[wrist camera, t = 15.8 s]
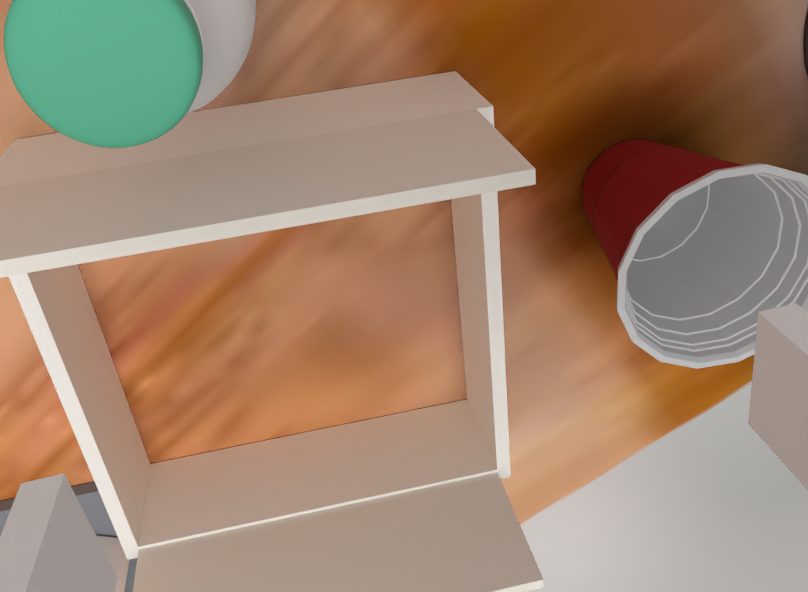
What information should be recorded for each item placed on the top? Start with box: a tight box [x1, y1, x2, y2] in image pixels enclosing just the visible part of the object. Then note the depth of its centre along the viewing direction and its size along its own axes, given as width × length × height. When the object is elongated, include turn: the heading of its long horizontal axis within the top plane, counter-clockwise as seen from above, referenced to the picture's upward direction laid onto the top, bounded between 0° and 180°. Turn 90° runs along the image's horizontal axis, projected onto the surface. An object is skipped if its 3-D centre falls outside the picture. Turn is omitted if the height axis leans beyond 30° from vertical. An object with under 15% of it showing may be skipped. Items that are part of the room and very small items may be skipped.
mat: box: [0, 482, 138, 592], centre depth 51 cm, size 12×12×1 cm
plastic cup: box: [582, 139, 808, 369], centre depth 40 cm, size 11×11×12 cm
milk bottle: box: [4, 0, 256, 148], centre depth 27 cm, size 8×8×20 cm
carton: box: [0, 71, 543, 592], centre depth 38 cm, size 23×23×15 cm
